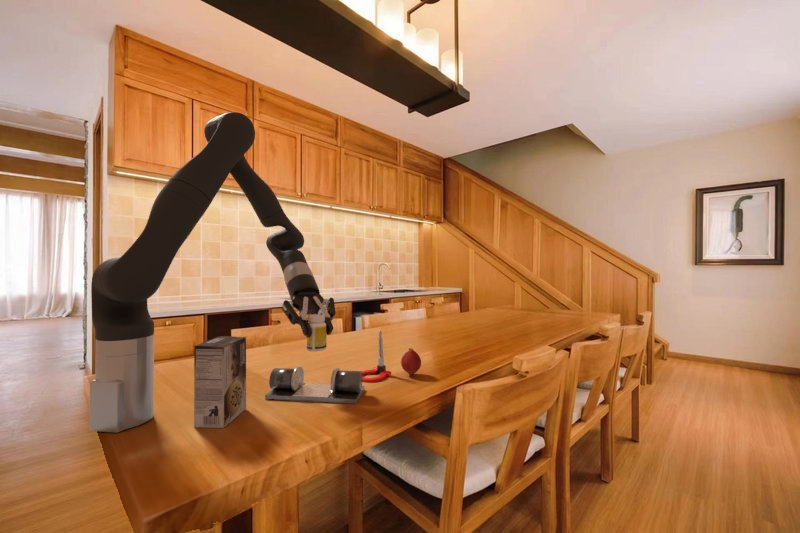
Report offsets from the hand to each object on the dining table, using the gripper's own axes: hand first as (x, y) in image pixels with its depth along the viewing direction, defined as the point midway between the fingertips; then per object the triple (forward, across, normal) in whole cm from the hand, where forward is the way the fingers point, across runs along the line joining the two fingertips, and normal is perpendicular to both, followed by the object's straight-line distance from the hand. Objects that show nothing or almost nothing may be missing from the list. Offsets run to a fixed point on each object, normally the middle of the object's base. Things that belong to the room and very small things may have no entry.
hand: (320, 333), depth 83 cm
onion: (+12, +28, +10) cm, 32 cm away
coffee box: (+10, -21, +12) cm, 26 cm away
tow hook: (+8, +18, +14) cm, 24 cm away
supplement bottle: (+2, 0, +4) cm, 5 cm away
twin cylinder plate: (+10, 0, +12) cm, 15 cm away
